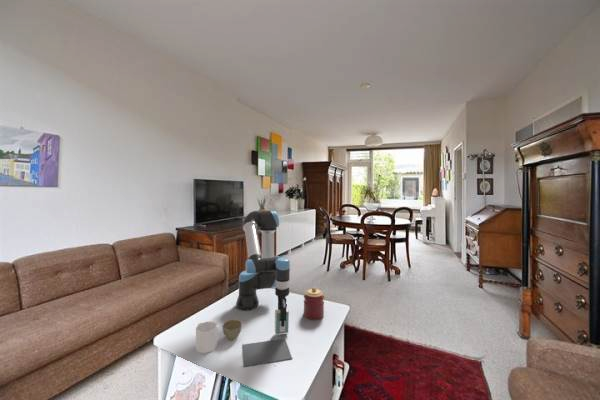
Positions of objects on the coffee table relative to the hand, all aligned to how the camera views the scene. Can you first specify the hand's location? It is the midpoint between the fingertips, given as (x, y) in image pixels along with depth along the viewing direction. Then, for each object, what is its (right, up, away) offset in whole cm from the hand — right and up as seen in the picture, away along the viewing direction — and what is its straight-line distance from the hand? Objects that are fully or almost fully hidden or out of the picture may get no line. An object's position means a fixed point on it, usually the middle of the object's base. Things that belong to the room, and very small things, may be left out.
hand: (281, 329), depth 133 cm
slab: (0, -2, 0) cm, 2 cm away
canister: (+19, -3, +22) cm, 29 cm away
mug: (-37, -3, -11) cm, 39 cm away
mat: (-6, -3, -15) cm, 16 cm away
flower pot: (-26, -3, -3) cm, 26 cm away
